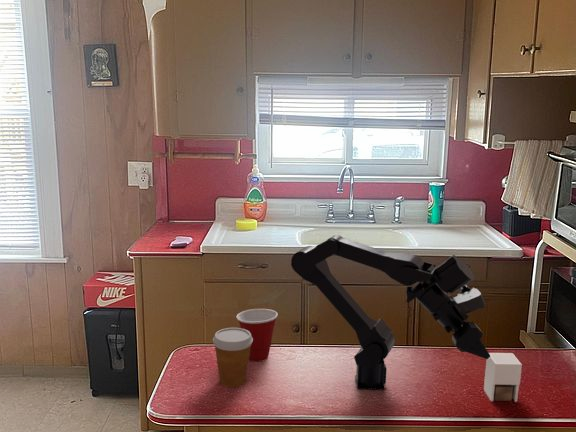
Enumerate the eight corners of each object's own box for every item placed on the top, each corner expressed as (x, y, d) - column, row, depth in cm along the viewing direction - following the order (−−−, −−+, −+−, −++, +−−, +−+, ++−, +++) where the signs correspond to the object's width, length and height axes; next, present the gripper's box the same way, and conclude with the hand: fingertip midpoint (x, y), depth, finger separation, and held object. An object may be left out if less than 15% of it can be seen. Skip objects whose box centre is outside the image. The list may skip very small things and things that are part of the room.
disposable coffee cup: (204, 381, 150) (204, 334, 147) (234, 368, 157) (234, 323, 154) (231, 394, 144) (231, 346, 141) (260, 381, 150) (261, 334, 148)
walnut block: (494, 400, 143) (496, 386, 143) (489, 392, 147) (491, 379, 146) (511, 401, 143) (512, 387, 143) (505, 393, 147) (507, 379, 146)
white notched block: (491, 402, 142) (495, 363, 140) (483, 389, 148) (487, 352, 146) (517, 402, 142) (521, 364, 140) (508, 390, 148) (512, 353, 146)
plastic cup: (255, 344, 171) (255, 303, 169) (285, 355, 165) (286, 313, 162) (227, 357, 163) (227, 314, 161) (258, 369, 156) (258, 324, 154)
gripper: (476, 292, 130) (524, 342, 132) (454, 266, 148) (496, 311, 151) (436, 327, 132) (484, 376, 134) (419, 297, 150) (461, 341, 152)
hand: (482, 348), depth 143 cm, fingers open, 9 cm apart
